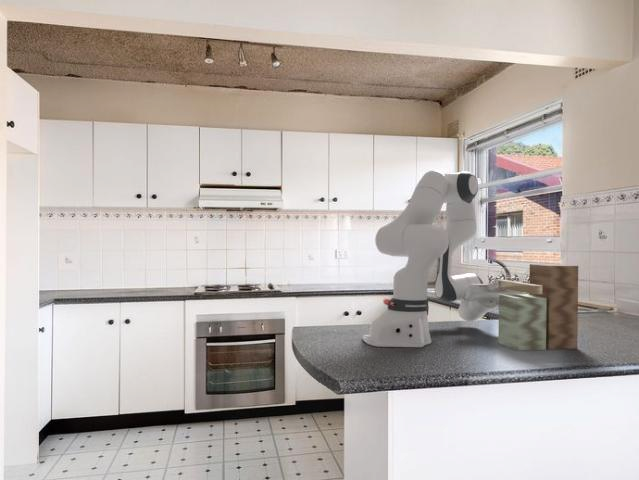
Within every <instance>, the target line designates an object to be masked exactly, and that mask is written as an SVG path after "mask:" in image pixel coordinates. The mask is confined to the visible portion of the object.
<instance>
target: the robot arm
mask: <svg viewBox="0 0 639 480" xmlns="http://www.w3.org/2000/svg"><path fill="white" fill-rule="evenodd" d="M478 187H479V184H478V179H477V177H476V176H475V175H474V174H473V173H472V172H470V171H460V172H452V173H451V172H450V173H443V172H441V171H439V170H429V171H427V172H425V173H424V174H423V176H422V177H421V178H420V180H419V181H418V182H417V184H416V186H415V188H414V190H413V193H412V195H411V198H410V199H409V201H408V203H407V206H405V208H404V209H403V211H402V212H401V213H400V214H399V215H397V217H396V218H394V219H393V220H391V222H389V223H388V224H386V225H384V226H381V227H380V228H379V229H378V230H377V232H376V234H375V246H376V249H377V251H378V252H380V253H381V254H383V255H387V256H391V257H401V258H402V257H403V258H405V257H406V258H407V262H406V265H405V266H404V267H403V268H401V269H398V270H397V271H396V272H395V273H394V275H393V289H392V290H393V297H391V299H388V298H383V304H384V305H386V306H387V309H386V310H385V311H383V313H381V314H380V315H378V316H377V317H376V318H374V319H373V320H372V322H371V324H370V328H369V334H364V335H363V337H362V340H363V342H365V343H366V344H367V345H370V346H372V347H373V346H374V347H379V348H380V347H383V348H385V347H386V348H387V347H388V348H389V347H391V348H392V347H393V348H423V347H425V346H427V345H430V344H431V343H432V339H431V334H430V329H429V328H430V327H429V319H428V316H429V309H430V307H429V299H428V284H429V283H428V282H429V275H430V272H431V269H432V268H433V265H434V264H435V262H436V261H437V264H436V265H437V269H436V276H435V277H436V278H435V282H434V294H435V296H436V297H437V299H439V300H440V301H441V302H443V303H445V304H448V303H453V302H455V301H460V304H459V306H458V310H457V313H458V316H459V318H461V319H462V320H464V321H467V322H475V321H478V320H479V319H481V318H483V317H484V316H485V315H486V313H489V312H490V311H493V310H496V309H499V294H524V292H520V291H514V290H509V289H504V288H498V287H500V286H501V283H500V281H495V282H494V281H493V282H491V283H490V282H489V283H484V282H483V280H482V279H481V278H480V277H479V275H477V274H476V273H474V272H469V273H467V272H466V273H461V274H455V275H452V260H453V254H454V253H455V252H456V250H458V248H459V247H461V246H463V245H465V244H467V243H468V242H469V241H471V240H472V239H473V238H474V236H475V235H476V232H477V218H476V217H477V216H476V209H475V206H474V200H473V199H474V198H476V196H477V194H478V191H479V190H478V189H479V188H478ZM444 204H445V206H446V207H445V220H446V226H445V228H444V227H443V226H440V225H436V224H434V223H435V222H436V221H437V220H438V218H439V216H440V213H441V210H442V207H443V205H444Z"/></svg>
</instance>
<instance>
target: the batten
mask: <svg viewBox="0 0 639 480" xmlns="http://www.w3.org/2000/svg"><path fill="white" fill-rule="evenodd" d="M493 280H494V281H493V283H494V282H495V281H500V283H501V286H500V287H498V288H504V289H509V290H514V291H520V292H523V293H524V294H529V293H530V294H542V286H541V285H535V284H529V282H521V281H515V280H514V281H513V280H508V279H502V278H501V279H496V278H495V279H493Z"/></svg>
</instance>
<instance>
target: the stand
mask: <svg viewBox="0 0 639 480" xmlns="http://www.w3.org/2000/svg"><path fill="white" fill-rule="evenodd" d="M528 284H535V285H541V286H542V294H530V293H523V294H499V308H498V333H497V334H498V338H497V340H498V341H497V342H498V344H499V345H501V346H504V347H507V348H509V349H512V350H514V351H537V350H538V351H542V350H543V351H545V350H571V349H572V350H573V349H574V350H575V349H578V325H579V324H578V323H579V322H578V321H579V319H578V318H579V316H578V315H579V309H578V308H579V265H569V264H558V263H557V264H556V263H553V264H552V263H549V264H548V263H544V264H543V263H540V264H539V263H536V264H535V263H530V264H529V282H528Z"/></svg>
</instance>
